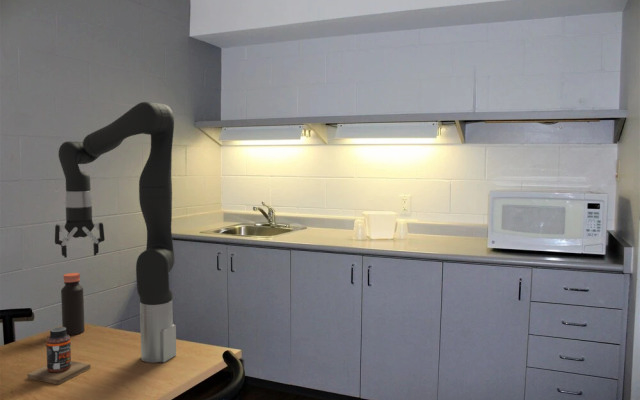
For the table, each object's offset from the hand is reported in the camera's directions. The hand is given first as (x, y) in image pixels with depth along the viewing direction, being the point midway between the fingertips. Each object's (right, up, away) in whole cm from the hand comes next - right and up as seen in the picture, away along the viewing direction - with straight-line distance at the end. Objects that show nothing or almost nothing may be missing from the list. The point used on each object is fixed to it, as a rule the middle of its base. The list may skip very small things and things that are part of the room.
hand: (80, 256), depth 164 cm
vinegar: (-8, -27, +11) cm, 31 cm away
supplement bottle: (+4, -29, -21) cm, 36 cm away
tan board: (+4, -30, -21) cm, 37 cm away
